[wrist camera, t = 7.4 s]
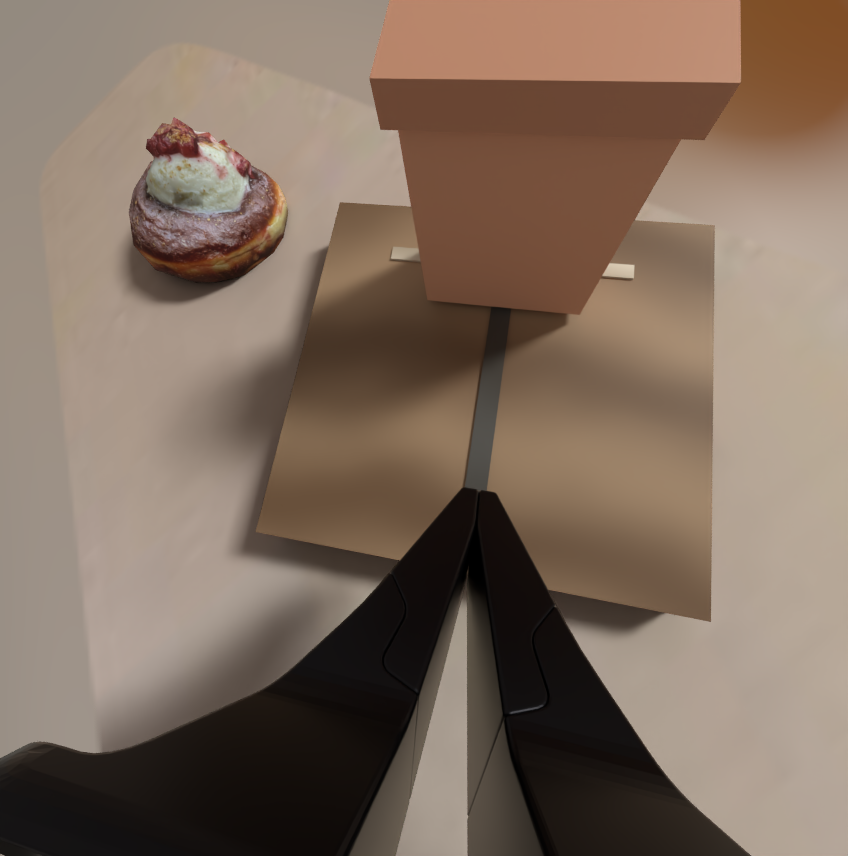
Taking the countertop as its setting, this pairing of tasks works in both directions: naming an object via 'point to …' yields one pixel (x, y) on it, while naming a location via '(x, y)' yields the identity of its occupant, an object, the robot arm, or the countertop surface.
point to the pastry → (204, 208)
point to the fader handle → (543, 131)
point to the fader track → (511, 414)
